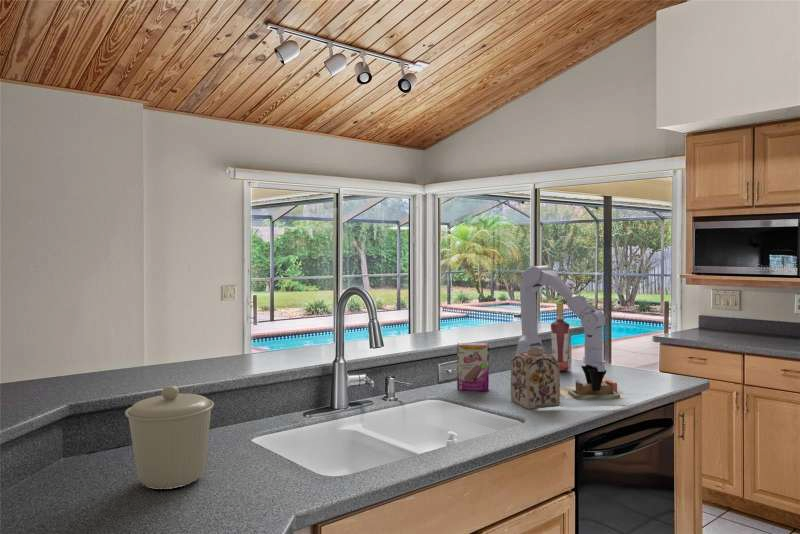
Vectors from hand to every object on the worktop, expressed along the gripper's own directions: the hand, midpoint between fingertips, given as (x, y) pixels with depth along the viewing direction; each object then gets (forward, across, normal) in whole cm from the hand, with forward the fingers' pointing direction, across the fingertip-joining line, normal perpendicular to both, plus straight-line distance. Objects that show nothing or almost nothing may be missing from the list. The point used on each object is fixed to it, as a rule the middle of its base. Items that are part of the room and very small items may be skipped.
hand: (593, 388), depth 193 cm
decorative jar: (+4, -4, +20) cm, 21 cm away
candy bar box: (+4, +16, +38) cm, 41 cm away
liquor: (+4, +45, -2) cm, 45 cm away
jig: (+3, +4, 0) cm, 6 cm away
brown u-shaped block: (+2, 0, 0) cm, 2 cm away
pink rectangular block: (+2, +8, -8) cm, 11 cm away
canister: (+4, -62, +116) cm, 131 cm away
